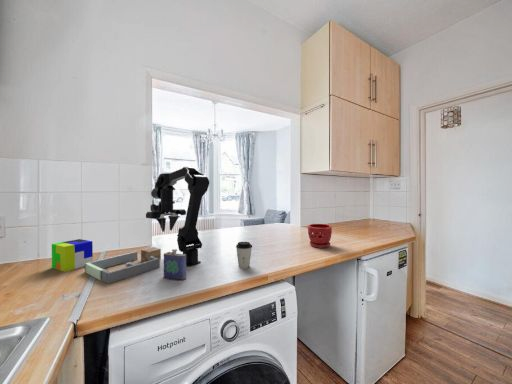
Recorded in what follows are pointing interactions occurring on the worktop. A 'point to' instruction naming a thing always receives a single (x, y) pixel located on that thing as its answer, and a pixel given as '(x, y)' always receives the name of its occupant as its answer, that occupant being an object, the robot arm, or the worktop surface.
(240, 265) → the coffee cup
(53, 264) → the puzzle toy
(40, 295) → the worktop surface
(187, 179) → the robot arm
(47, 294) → the worktop surface
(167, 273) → the flask
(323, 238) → the plant pot
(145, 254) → the walnut block
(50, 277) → the worktop surface
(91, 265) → the box
